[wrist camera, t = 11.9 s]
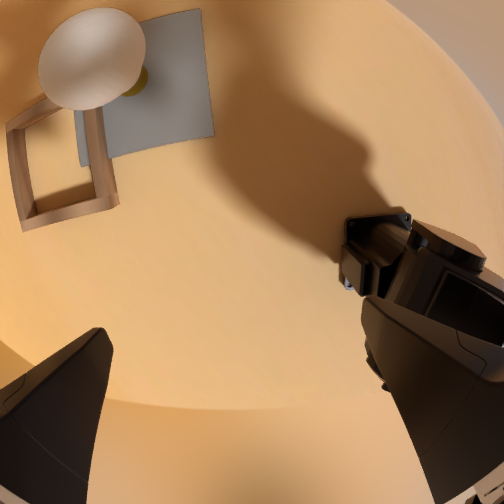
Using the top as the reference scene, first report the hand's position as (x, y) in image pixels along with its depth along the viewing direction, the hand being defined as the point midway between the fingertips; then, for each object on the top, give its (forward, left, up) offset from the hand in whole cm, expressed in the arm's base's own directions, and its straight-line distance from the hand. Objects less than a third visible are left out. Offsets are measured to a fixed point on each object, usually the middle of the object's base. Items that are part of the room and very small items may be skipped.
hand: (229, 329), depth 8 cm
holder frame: (+14, -8, -13) cm, 21 cm away
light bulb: (+6, -12, -13) cm, 18 cm away
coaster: (+6, -12, -13) cm, 19 cm away
